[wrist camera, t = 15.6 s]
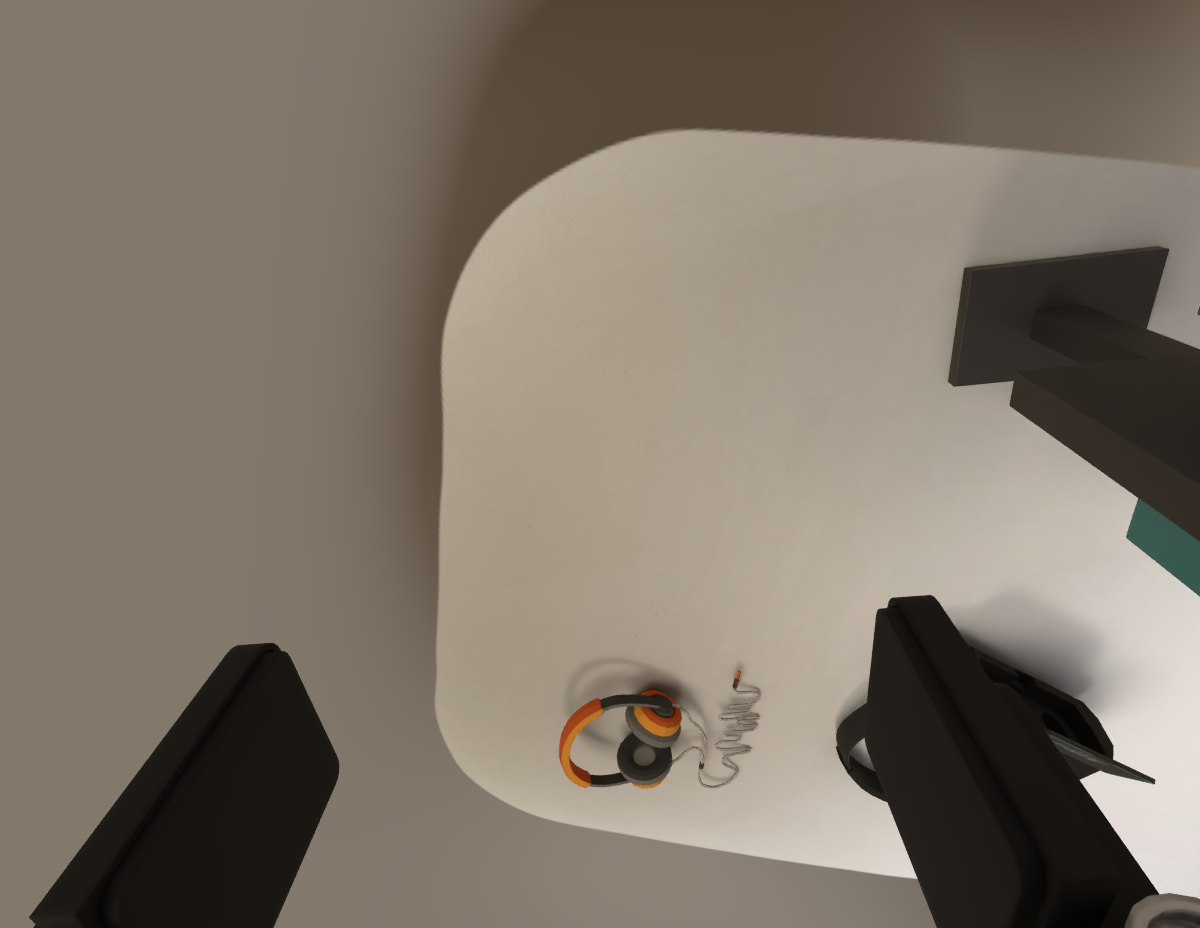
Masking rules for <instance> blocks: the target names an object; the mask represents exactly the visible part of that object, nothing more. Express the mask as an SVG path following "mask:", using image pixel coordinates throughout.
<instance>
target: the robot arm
mask: <svg viewBox="0 0 1200 928" xmlns="http://www.w3.org/2000/svg"><path fill="white" fill-rule="evenodd" d="M864 736H865V743H866V747H867V751H868V754H869V756H870V759H871V762H872V764H873V767H874V769H875V772H876V774H877V777H878V779H879V782H880V784H881V787H882V789H883V792H884V795H885V797H886V800H887V802H888V805H889V807H890V810H891V812H892V815H893V817H894V820H895V822H896V825H897V828H898V830H899V833H900V835H901V838H902V840H903V843H904V845H905V848H906V850H907V853H908V855H909V858H910V861H911V863H912V866H913V868H914V871H915V873H916V876H917V878H918V881H919V883H920V886H921V888H922V891H923V894H924V896H925V898H926V901H927V904H928V906H929V909H930V911H931V914H932V916H933V919H934V921H935V924H936V927H937V928H1200V899H1198V898H1195V897H1189V896H1183V895H1177V894H1172V893H1167V894H1159V893H1158V891H1157V890H1156V889H1155V887H1154V886H1153V884H1152V883H1151V881H1150V880H1149V879H1148V877H1147V876H1146V874H1145V873H1144V871H1143V870H1142V869H1141V867H1140V866H1139V864H1138V863H1137V861H1136V860H1135V859H1134V857H1133V856H1132V854H1131V853H1130V851H1129V850H1128V849H1127V847H1126V846H1125V844H1124V843H1123V842H1122V840H1121V839H1120V837H1119V836H1118V834H1117V833H1116V832H1115V830H1114V829H1113V827H1112V826H1111V824H1110V823H1109V822H1108V820H1107V819H1106V817H1105V816H1104V814H1103V813H1102V812H1101V810H1100V809H1099V807H1098V806H1097V804H1096V803H1095V802H1094V800H1093V799H1092V797H1091V796H1090V794H1089V793H1088V792H1087V790H1086V789H1085V787H1084V786H1083V784H1082V783H1081V782H1080V780H1079V779H1078V777H1077V776H1076V774H1075V773H1074V772H1073V770H1072V769H1071V767H1070V766H1069V765H1068V763H1067V762H1066V760H1065V759H1064V757H1063V756H1062V755H1061V753H1060V752H1059V750H1058V749H1057V747H1056V746H1055V745H1054V743H1053V742H1052V740H1051V739H1050V737H1049V736H1048V735H1047V733H1046V732H1045V730H1044V729H1043V727H1042V726H1041V725H1040V723H1039V722H1038V720H1037V719H1036V717H1035V716H1034V715H1033V713H1032V712H1031V710H1030V709H1029V707H1028V706H1027V705H1026V703H1025V702H1024V700H1023V699H1022V698H1021V697H1020V695H1019V694H1018V693H1017V692H1016V691H1015V690H1014V689H1013V688H1012V687H1010V686H1009V685H1007V684H1005V683H992V681H991V680H990V678H989V677H988V675H987V674H986V672H985V671H984V669H983V668H982V666H981V665H980V663H979V662H978V660H977V659H976V657H975V656H974V654H973V653H972V651H971V650H970V648H969V647H968V645H967V644H966V642H965V641H964V639H963V638H962V636H961V635H960V633H959V632H958V630H957V629H956V627H955V626H954V624H953V623H952V621H951V620H950V618H949V617H948V615H947V614H946V612H945V611H944V609H943V608H942V606H941V605H940V603H939V602H938V601H937V599H936V598H935V597H933V596H931V595H925V596H911V597H897V598H891V599H890V601H889V603H888V607H887V608H882V609H878V611H877V614H876V622H875V632H874V641H873V650H872V660H871V669H870V678H869V688H868V697H867V706H866V716H865V725H864ZM338 775H339V761H338V758H337V755H336V753H335V751H334V749H333V747H332V744H331V742H330V740H329V738H328V736H327V734H326V732H325V730H324V728H323V725H322V723H321V721H320V719H319V717H318V715H317V713H316V711H315V709H314V706H313V704H312V702H311V700H310V698H309V696H308V694H307V692H306V689H305V687H304V685H303V683H302V681H301V679H300V677H299V675H298V672H297V670H296V668H295V666H294V664H293V662H292V660H291V658H290V656H289V655H288V653H286V652H285V651H281V650H280V648H279V647H278V646H277V645H276V644H274V643H264V644H249V645H238V646H235V647H233V648H232V649H231V650H230V651H229V652H228V653H227V654H226V656H225V657H224V658H223V660H222V661H221V662H220V664H219V665H218V666H217V668H216V669H215V670H214V672H213V673H212V674H211V676H210V677H209V678H208V680H207V681H206V682H205V684H204V685H203V686H202V688H201V689H200V690H199V692H198V693H197V694H196V696H195V697H194V698H193V700H192V701H191V702H190V704H189V705H188V706H187V708H186V709H185V710H184V712H183V713H182V714H181V716H180V717H179V718H178V720H177V721H176V722H175V724H174V725H173V726H172V728H171V729H170V730H169V732H168V733H167V734H166V736H165V737H164V738H163V740H162V741H161V742H160V744H159V745H158V746H157V748H156V749H155V750H154V752H153V753H152V754H151V756H150V757H149V759H148V760H147V761H146V762H145V764H144V765H143V766H142V768H141V769H140V770H139V772H138V773H137V774H136V776H135V777H134V778H133V780H132V781H131V782H130V784H129V785H128V786H127V788H126V789H125V790H124V792H123V793H122V794H121V796H120V797H119V798H118V800H117V801H116V802H115V804H114V805H113V806H112V808H111V809H110V810H109V812H108V813H107V814H106V816H105V817H104V818H103V820H102V821H101V822H100V824H99V825H98V826H97V828H96V829H95V831H94V832H93V833H92V834H91V836H90V837H89V838H88V840H87V841H86V842H85V844H84V845H83V846H82V848H81V849H80V850H79V852H78V853H77V854H76V856H75V857H74V858H73V860H72V861H71V862H70V864H69V865H68V866H67V868H66V869H65V870H64V872H63V873H62V874H61V876H60V877H59V878H58V880H57V881H56V882H55V884H54V885H53V886H52V888H51V889H50V890H49V892H48V893H47V894H46V896H45V897H44V898H43V900H42V901H41V902H40V904H39V905H38V906H37V908H36V909H35V910H34V912H33V913H32V914H31V916H30V917H29V918H30V919H31V920H32V921H33V922H34V923H35V924H36V925H35V926H34V928H273V927H274V925H275V923H276V920H277V918H278V916H279V913H280V911H281V909H282V906H283V904H284V902H285V900H286V897H287V895H288V893H289V890H290V888H291V886H292V883H293V881H294V879H295V877H296V874H297V872H298V870H299V867H300V865H301V863H302V861H303V858H304V856H305V854H306V851H307V849H308V847H309V845H310V842H311V840H312V838H313V835H314V833H315V831H316V828H317V826H318V824H319V822H320V819H321V817H322V815H323V812H324V810H325V808H326V805H327V803H328V801H329V799H330V796H331V794H332V792H333V789H334V787H335V785H336V782H337V779H338Z"/></svg>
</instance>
